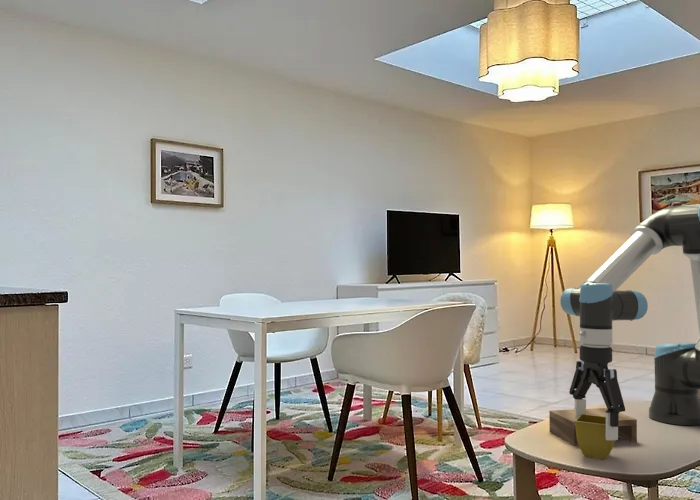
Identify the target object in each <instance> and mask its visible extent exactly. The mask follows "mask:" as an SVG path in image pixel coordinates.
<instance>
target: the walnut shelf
mask: <svg viewBox="0 0 700 500" xmlns="http://www.w3.org/2000/svg"><path fill="white" fill-rule="evenodd" d="M606 410H608V409H607V407H600V408H586V414H587V415H595V416H603V417H606ZM548 412H549V416H548V417H549V433H550V432H551V434H553V436H555V437H558V438H559V437H560V438H559V439H561V440H563V441H565V442H567V443H569V444H571V445H572V446H575V447H576V446H578V447H579V445H578V442H577V436H576V428H575V408H574V409H555V410H553V409H552V410H549V411H548ZM618 421H619V425H618V438H621V439H623V440H625V441H628V442H629V443H637V442H638V425H637V422H638V419H636V418H635V417H631V416H629V415H627V414H625V413H622V412H619V420H618Z"/></svg>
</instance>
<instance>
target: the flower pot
mask: <svg viewBox="0 0 700 500" xmlns="http://www.w3.org/2000/svg"><path fill="white" fill-rule="evenodd" d="M575 428H576V436H577V442H578V447H579V450H580V452H581V453H582V455H583V456H584V457H585V458H586V457H587V458H594V459H600V460H607V459H608V457H609V455H610V453H611V452H612V450H613V448H614V445H615V442H616V440H606V417H603V416H595V415H587V414H581V415H580V416H579V417H578V418H577V419H576V420H575Z"/></svg>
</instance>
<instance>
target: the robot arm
mask: <svg viewBox="0 0 700 500" xmlns="http://www.w3.org/2000/svg"><path fill="white" fill-rule="evenodd" d="M676 246H677V247H679V246H680V247H682V254H683V255H685V256H686V257H687V258H688V259H689V261H690V269H691V276H692V286H693V293H694V294H693V295H694V302H695V308H696V318H697V325H698V333H699V336H700V203H695V204H693V203H692V204H683V205H671V206H668V207H664V208H662V209H659V210H658V211H656V212H654V213H653V214H651V215H650V216H647V217H646V218H645V219H643V221H640V222H639V224H638V225H637V226H636V227H634V228H633V229H632V230H631V232H630V237H629V238H628V239H627V240H626V241H625V242H624V243H622V245H621V246H620V247H619V248H618V249H616V251H615V252H613V254H612V255H611V256H610V257H608V258H607V260H605V261H604V262H603V263H602V264H601V265H600V266H599V267H598V268H597V269H596V270H595V271H594V272H593V273H592V274H591V275H590V276H589V277H588V278H587V279H586V280H585V281H584V282H582V283H581V285H580V286H579V287H572V288H567V289H564V291H563V292H562V294H561V295H560V307H561V309H562V311H563V312H564V313H565V314H566V315H569V316H576V317H579V333H578V334H579V343H580V344H581V345H580V346H579V361H578V360H577V361H576V363H575V371H574V375H573V378H572V381H571V385H570V388H569V391H568V392H569V395H570V396H571V395H572V397H573V399H574V409H575V420H576V419H577V418H578V417H579V416H580V415H581V414H586V409H587V396H586V395H587V393H588V391H589V390H590V388H591V386H592V384H593V385H595V387H596V388H598V389H599V392H600V394H601V396H602V399H603V402H604V404H605V408H607V409H608V410H606V440H615V441H618V440H619V436H618V425H619V421H618V420H619V413H622V412H626V407H625V403H624V400H623V396H622V392H621V388H620V384H619V380H618V372H617V371H618V370H617V369H616V368H614V369H613V368H609V367H608V366H609V365H608V364H610V363H612V362H613V348H612V347H611V346H613V322H614V321H629V322H630V321H631V322H632V321H637V320H640V319H642V318H644V316H645V315H646V314H647V311H648V308H649V307H648V305H649V304H648V300H647V298H646V296H645V295H644V294H643V293H642V292H639V291H636V290H632V289H631V290H628V289H627V290H618V289H619V288H620V287H621V286H622V285H623V284H624V283H625V282H626V281H627V280H628V279H630V277H631V276H632V275H633V274H634V273H635V272H636V271H637V270H638V269H640V267H641V266H642V265H644V263H645V262H646V261H647V260H648V259H649V258H650V257H651V256H652V255H657V254H659V253H661V251H662V250H663V249H665V248H668V247H676ZM653 359H654V394H653V397H652V400H651V403H650V406H649V408H648V418H650V419H652V420H654V421H656V422H660V423H665V424H671V425H678V426H679V425H680V426H699V425H700V397H699V390H700V340H699V342H668V343H660V344H657V345H656V346H655V348H654V357H653Z"/></svg>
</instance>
